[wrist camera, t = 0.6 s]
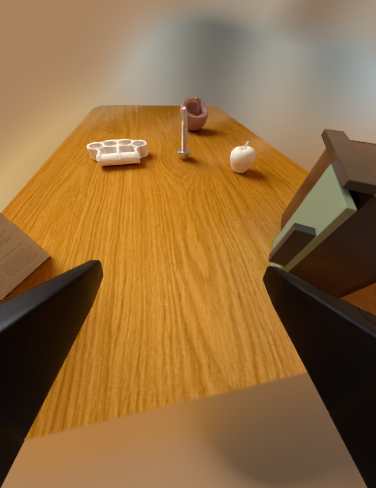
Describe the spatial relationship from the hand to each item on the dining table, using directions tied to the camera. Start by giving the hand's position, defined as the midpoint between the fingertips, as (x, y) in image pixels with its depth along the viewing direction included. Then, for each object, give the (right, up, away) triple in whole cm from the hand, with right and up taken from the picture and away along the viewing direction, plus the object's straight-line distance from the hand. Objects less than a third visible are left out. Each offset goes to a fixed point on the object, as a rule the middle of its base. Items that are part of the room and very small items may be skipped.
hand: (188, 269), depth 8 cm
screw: (-1, +30, +43) cm, 52 cm away
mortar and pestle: (+2, +54, +63) cm, 83 cm away
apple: (+16, +24, +39) cm, 48 cm away
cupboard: (+21, +1, +20) cm, 29 cm away
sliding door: (+14, -1, +18) cm, 22 cm away
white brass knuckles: (-22, +29, +42) cm, 56 cm away
